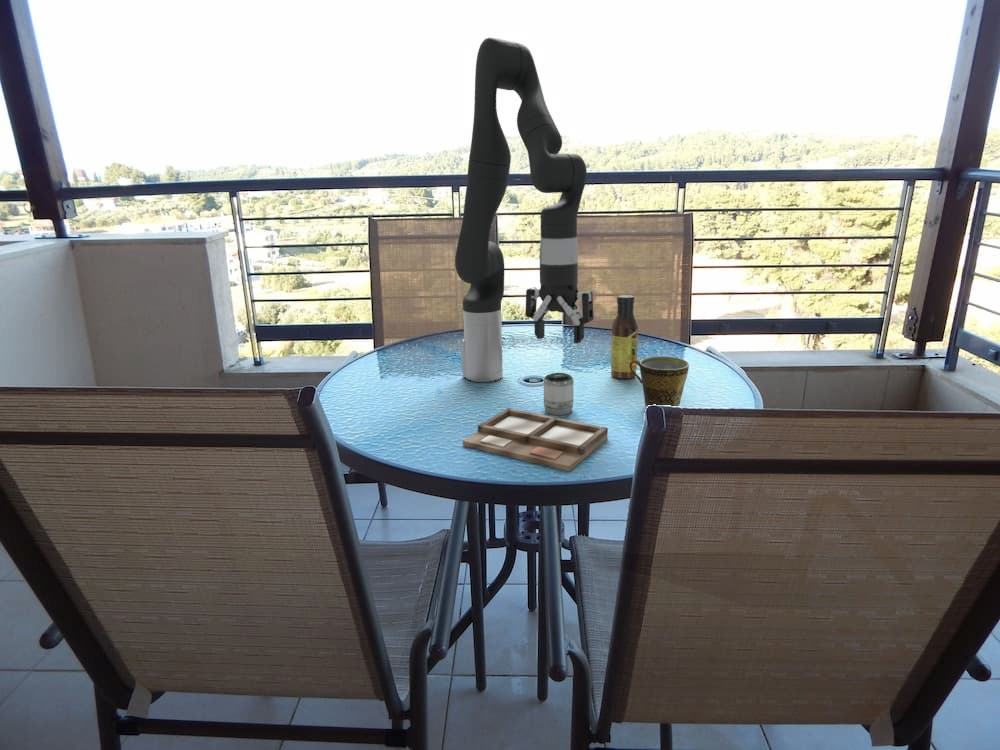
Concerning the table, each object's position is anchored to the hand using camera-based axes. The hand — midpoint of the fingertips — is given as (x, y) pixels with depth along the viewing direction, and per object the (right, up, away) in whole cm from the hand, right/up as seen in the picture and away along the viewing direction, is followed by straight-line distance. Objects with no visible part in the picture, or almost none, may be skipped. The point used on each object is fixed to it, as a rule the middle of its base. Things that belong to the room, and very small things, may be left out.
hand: (558, 340), depth 128 cm
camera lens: (0, -15, +5) cm, 16 cm away
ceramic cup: (+21, -14, +5) cm, 26 cm away
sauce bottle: (+18, -8, +26) cm, 33 cm away
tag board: (-5, -20, -11) cm, 23 cm away
